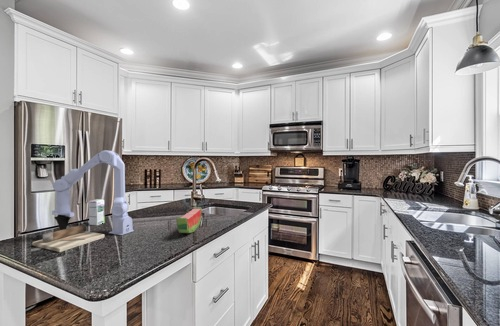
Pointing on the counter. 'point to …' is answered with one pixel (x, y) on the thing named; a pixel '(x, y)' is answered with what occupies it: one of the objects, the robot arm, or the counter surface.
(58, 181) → the robot arm
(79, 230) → the lever
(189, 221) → the fruit slice
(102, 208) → the syrup box
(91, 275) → the counter surface
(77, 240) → the board
